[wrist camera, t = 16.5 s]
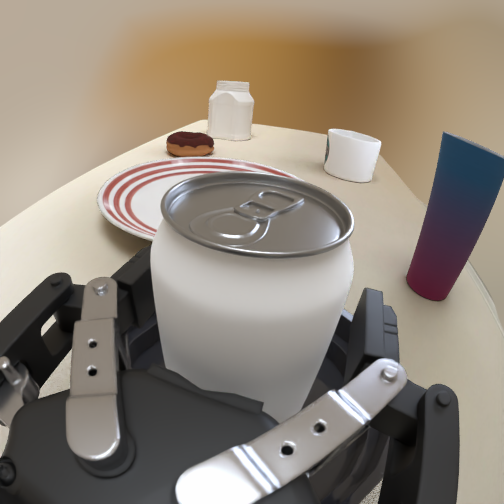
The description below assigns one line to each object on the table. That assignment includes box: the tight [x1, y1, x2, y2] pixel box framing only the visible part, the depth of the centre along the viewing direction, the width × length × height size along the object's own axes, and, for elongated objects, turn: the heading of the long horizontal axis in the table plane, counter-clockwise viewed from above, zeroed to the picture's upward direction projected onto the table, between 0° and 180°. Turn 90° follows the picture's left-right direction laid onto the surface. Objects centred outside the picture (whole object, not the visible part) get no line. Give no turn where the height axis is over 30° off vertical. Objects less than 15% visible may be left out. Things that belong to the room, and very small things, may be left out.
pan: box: [128, 309, 390, 504], centre depth 15 cm, size 16×16×4 cm
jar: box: [207, 81, 254, 141], centre depth 73 cm, size 12×10×15 cm
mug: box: [324, 129, 381, 183], centre depth 57 cm, size 13×10×8 cm
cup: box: [407, 132, 504, 301], centre depth 24 cm, size 7×7×15 cm
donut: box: [166, 131, 214, 157], centre depth 59 cm, size 10×10×4 cm
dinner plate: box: [97, 157, 305, 241], centre depth 36 cm, size 27×27×3 cm
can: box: [150, 171, 354, 424], centre depth 12 cm, size 6×6×12 cm
